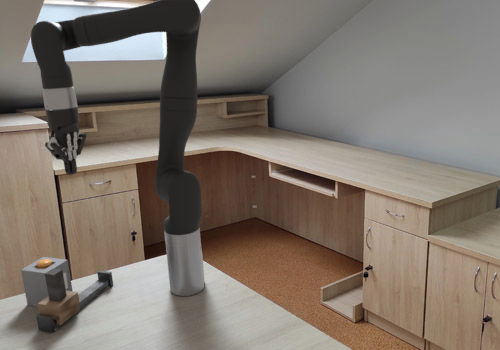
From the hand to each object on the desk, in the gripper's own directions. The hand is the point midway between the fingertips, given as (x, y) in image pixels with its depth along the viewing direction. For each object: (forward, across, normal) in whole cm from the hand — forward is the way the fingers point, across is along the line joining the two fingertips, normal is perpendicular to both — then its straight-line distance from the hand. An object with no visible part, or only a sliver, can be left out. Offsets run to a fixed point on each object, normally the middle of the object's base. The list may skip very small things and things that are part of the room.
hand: (71, 173), depth 122 cm
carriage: (+33, +14, +3) cm, 36 cm away
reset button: (+28, +7, -7) cm, 29 cm away
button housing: (+33, +7, -7) cm, 34 cm away
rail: (+33, +8, +3) cm, 34 cm away
